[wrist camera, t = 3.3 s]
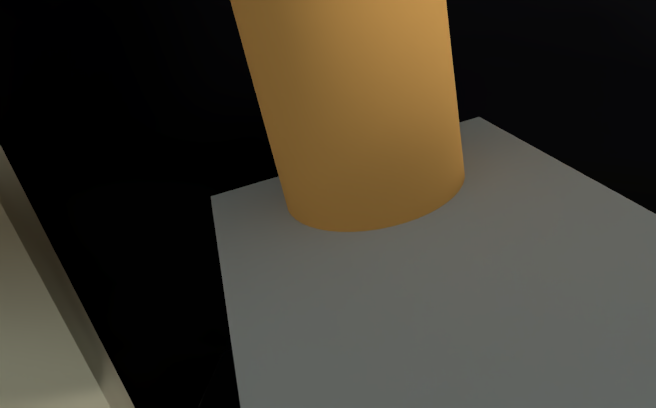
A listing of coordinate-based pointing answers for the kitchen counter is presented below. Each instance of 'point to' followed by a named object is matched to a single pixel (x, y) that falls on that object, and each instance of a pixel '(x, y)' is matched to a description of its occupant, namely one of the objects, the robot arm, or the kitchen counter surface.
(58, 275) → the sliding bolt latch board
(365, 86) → the toy hammer
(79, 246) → the kitchen counter surface
